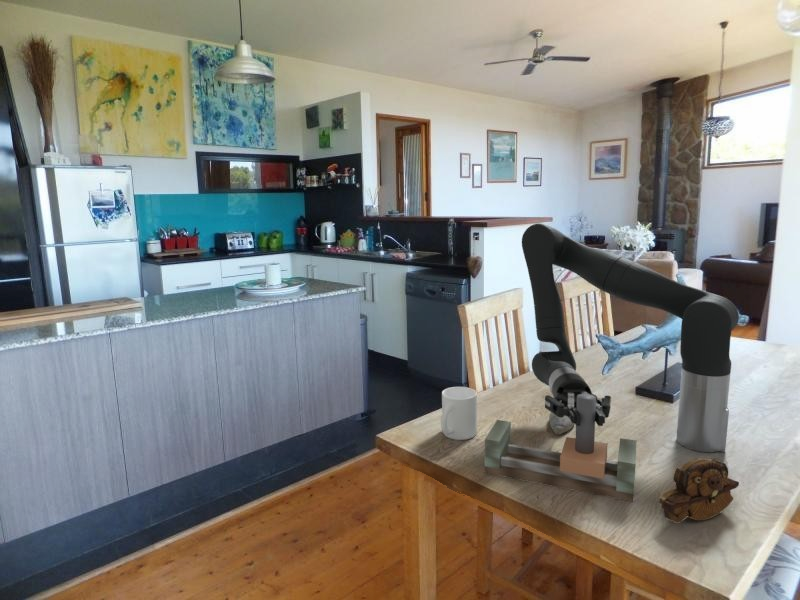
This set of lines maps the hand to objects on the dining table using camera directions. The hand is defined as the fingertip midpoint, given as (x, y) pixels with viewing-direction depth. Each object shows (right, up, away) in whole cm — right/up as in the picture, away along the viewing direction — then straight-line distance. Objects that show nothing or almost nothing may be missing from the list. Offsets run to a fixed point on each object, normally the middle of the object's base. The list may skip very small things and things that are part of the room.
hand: (589, 421), depth 99 cm
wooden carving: (+16, -15, -8) cm, 24 cm away
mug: (-23, -10, +26) cm, 36 cm away
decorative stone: (+4, -8, +31) cm, 32 cm away
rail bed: (-4, -12, +7) cm, 15 cm away
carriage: (0, -10, +5) cm, 11 cm away
